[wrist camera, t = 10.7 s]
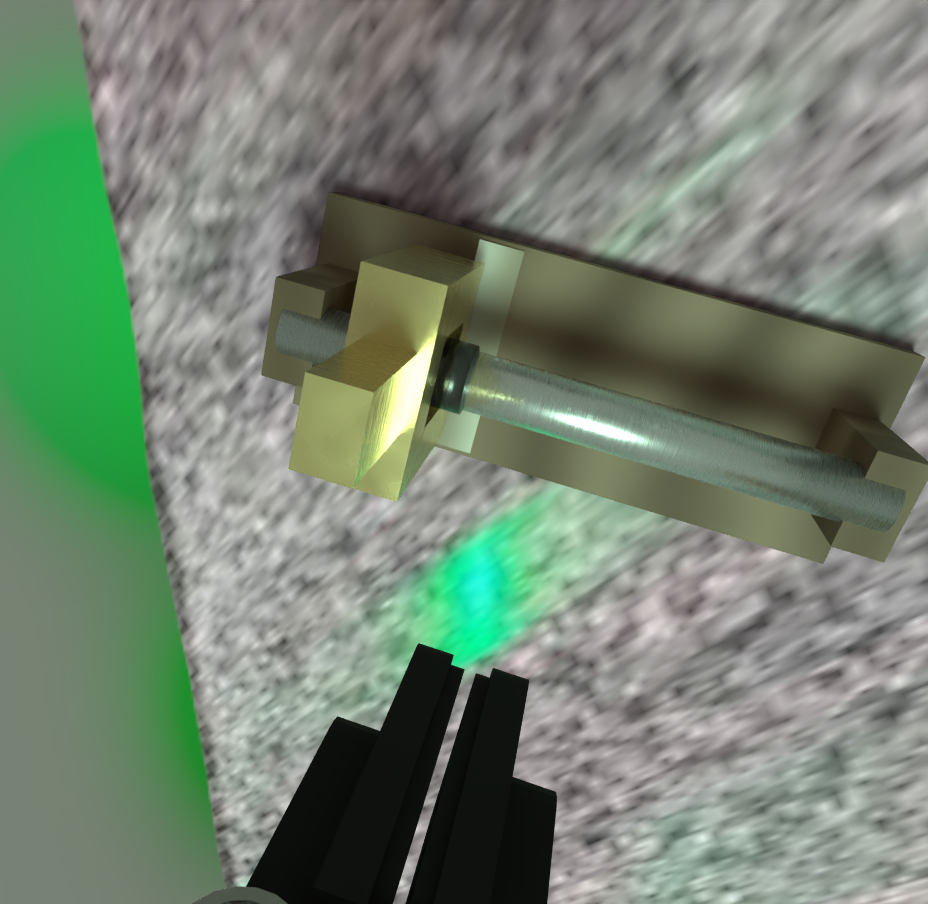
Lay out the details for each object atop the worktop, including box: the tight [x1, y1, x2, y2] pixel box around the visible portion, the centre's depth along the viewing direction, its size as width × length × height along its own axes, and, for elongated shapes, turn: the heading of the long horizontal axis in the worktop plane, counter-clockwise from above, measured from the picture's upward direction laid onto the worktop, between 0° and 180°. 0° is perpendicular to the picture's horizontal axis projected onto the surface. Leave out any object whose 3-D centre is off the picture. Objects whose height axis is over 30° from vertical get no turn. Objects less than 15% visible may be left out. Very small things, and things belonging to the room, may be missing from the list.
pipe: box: [275, 308, 906, 533], centre depth 29 cm, size 24×3×3 cm, turn 76°
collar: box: [289, 245, 485, 502], centre depth 27 cm, size 3×8×13 cm, turn 166°
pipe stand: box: [261, 192, 928, 564], centre depth 31 cm, size 26×10×7 cm, turn 76°
